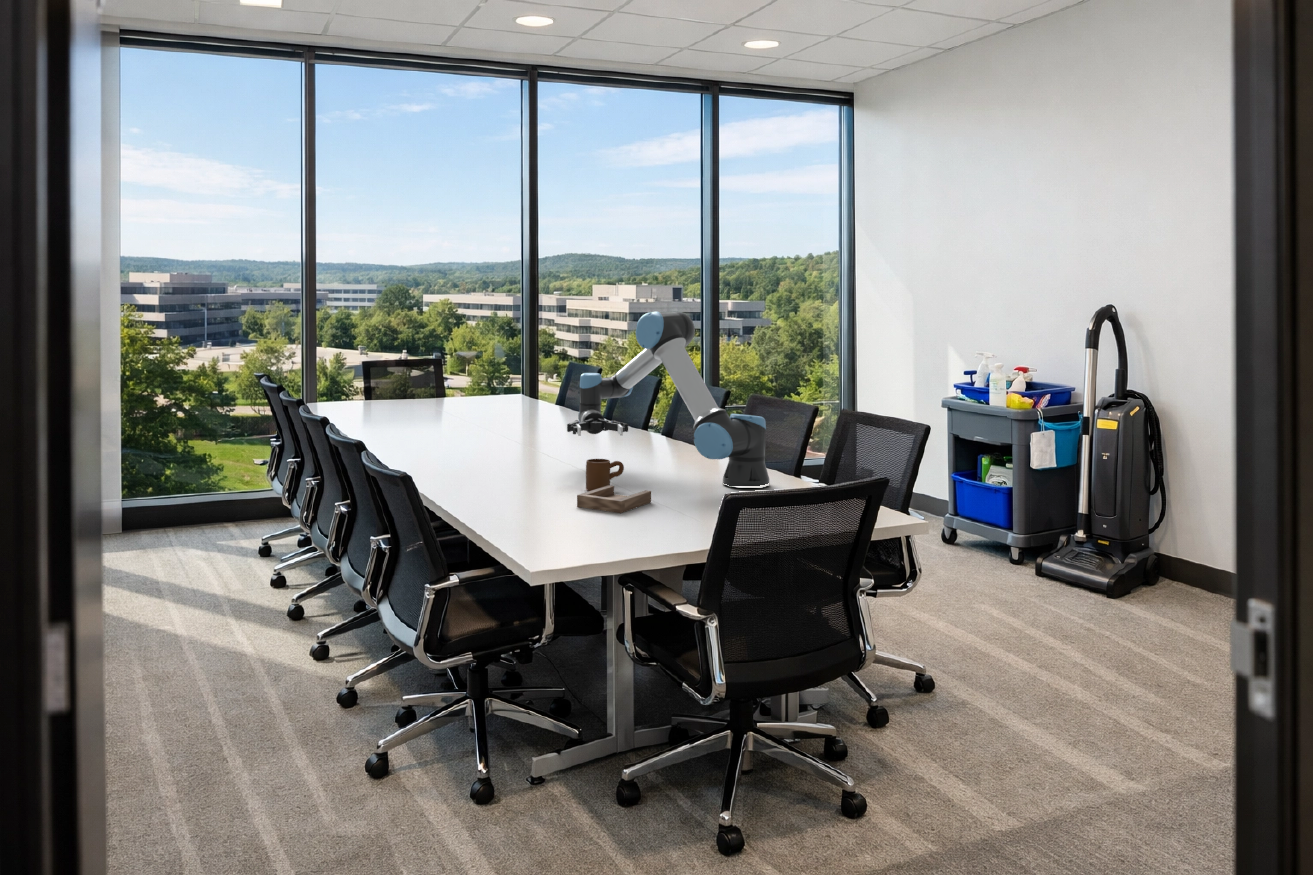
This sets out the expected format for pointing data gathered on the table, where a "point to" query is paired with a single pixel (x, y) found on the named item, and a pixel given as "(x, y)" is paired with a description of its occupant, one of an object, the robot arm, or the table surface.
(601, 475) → the mug
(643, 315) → the robot arm
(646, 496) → the u rest
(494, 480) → the table surface
